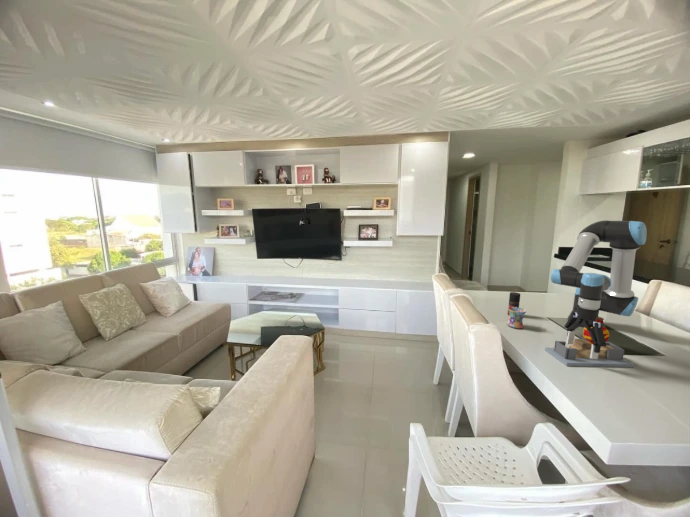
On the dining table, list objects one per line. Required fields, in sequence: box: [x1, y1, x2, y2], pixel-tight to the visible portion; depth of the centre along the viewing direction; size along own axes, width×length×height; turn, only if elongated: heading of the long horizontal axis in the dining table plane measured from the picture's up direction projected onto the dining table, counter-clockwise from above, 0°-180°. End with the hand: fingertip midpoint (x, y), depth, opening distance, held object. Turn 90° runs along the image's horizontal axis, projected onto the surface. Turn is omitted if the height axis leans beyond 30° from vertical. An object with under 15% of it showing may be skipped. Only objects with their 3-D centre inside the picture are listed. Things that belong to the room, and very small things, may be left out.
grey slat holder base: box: [544, 340, 634, 368], centre depth 129 cm, size 29×14×6 cm, turn 89°
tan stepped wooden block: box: [568, 338, 614, 358], centre depth 129 cm, size 18×4×7 cm, turn 89°
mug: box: [506, 307, 527, 329], centre depth 165 cm, size 12×9×11 cm
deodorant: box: [507, 291, 521, 316], centre depth 182 cm, size 6×6×15 cm
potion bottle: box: [582, 316, 610, 345], centre depth 141 cm, size 10×10×15 cm
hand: (581, 350), depth 129 cm, fingers open, 13 cm apart
